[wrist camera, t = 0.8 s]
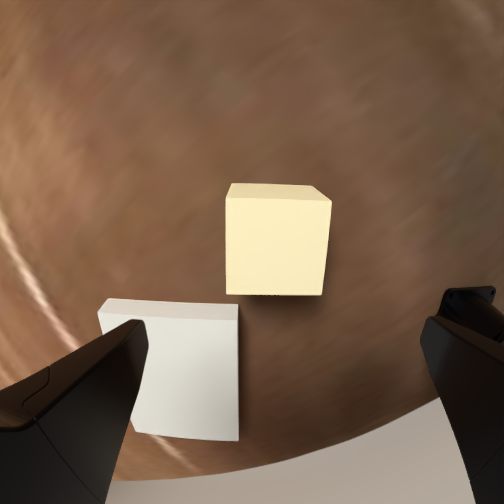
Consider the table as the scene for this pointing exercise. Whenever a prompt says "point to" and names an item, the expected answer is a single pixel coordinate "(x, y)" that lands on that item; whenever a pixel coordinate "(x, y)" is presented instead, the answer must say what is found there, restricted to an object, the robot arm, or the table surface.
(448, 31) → the table surface
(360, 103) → the table surface
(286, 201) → the sticky note cube
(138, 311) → the notebook
